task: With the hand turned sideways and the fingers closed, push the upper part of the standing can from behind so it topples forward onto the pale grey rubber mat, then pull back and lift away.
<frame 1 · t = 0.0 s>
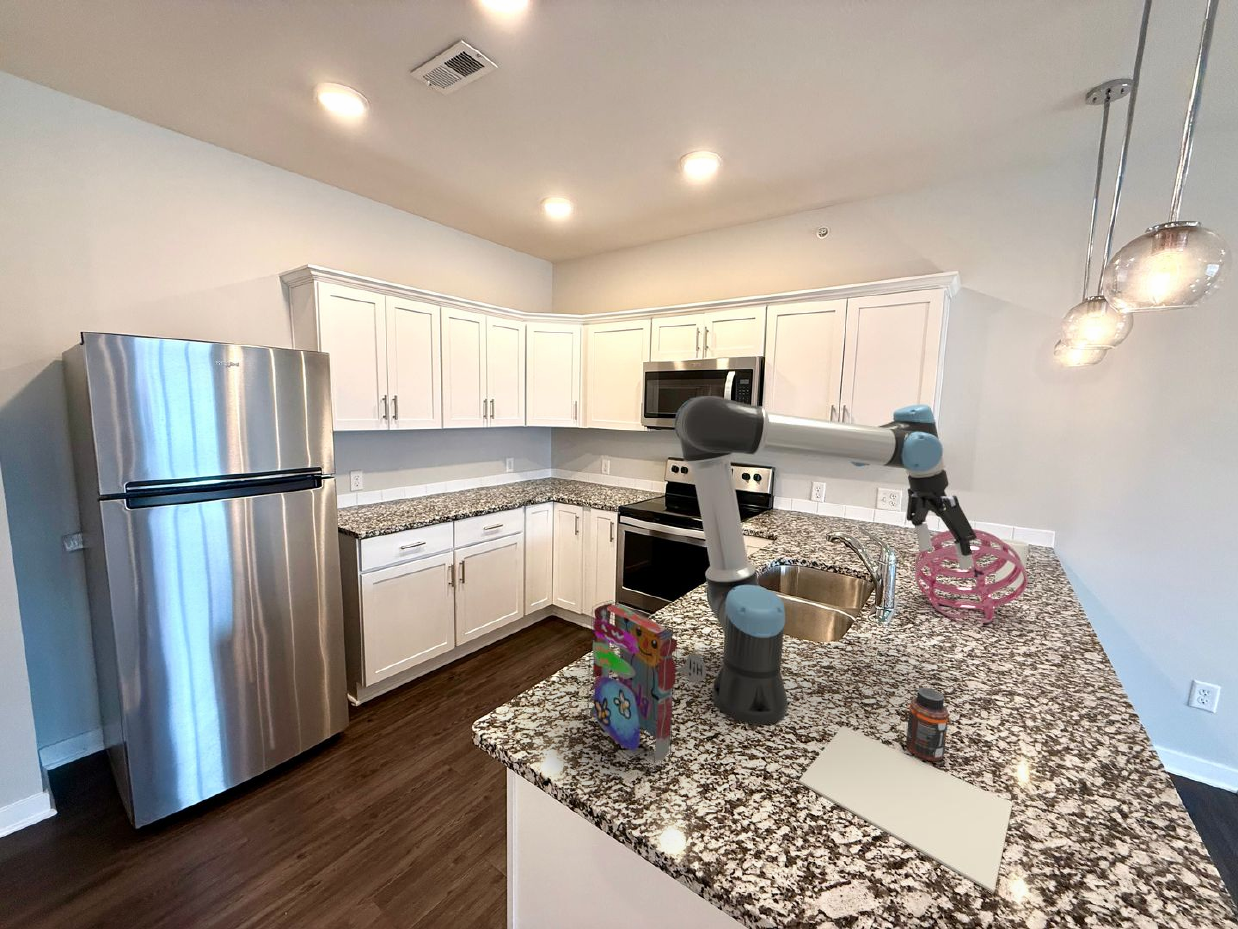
hand: (945, 558, 114), 28 cm above the countertop, tool tilted 20°, fingers open, 13 cm apart
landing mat: (903, 793, 79), on the countertop
spiral basket: (962, 613, 152), on the countertop
cup: (1008, 584, 179), on the countertop
supplement bottle: (924, 752, 89), on the countertop
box: (643, 757, 86), on the countertop
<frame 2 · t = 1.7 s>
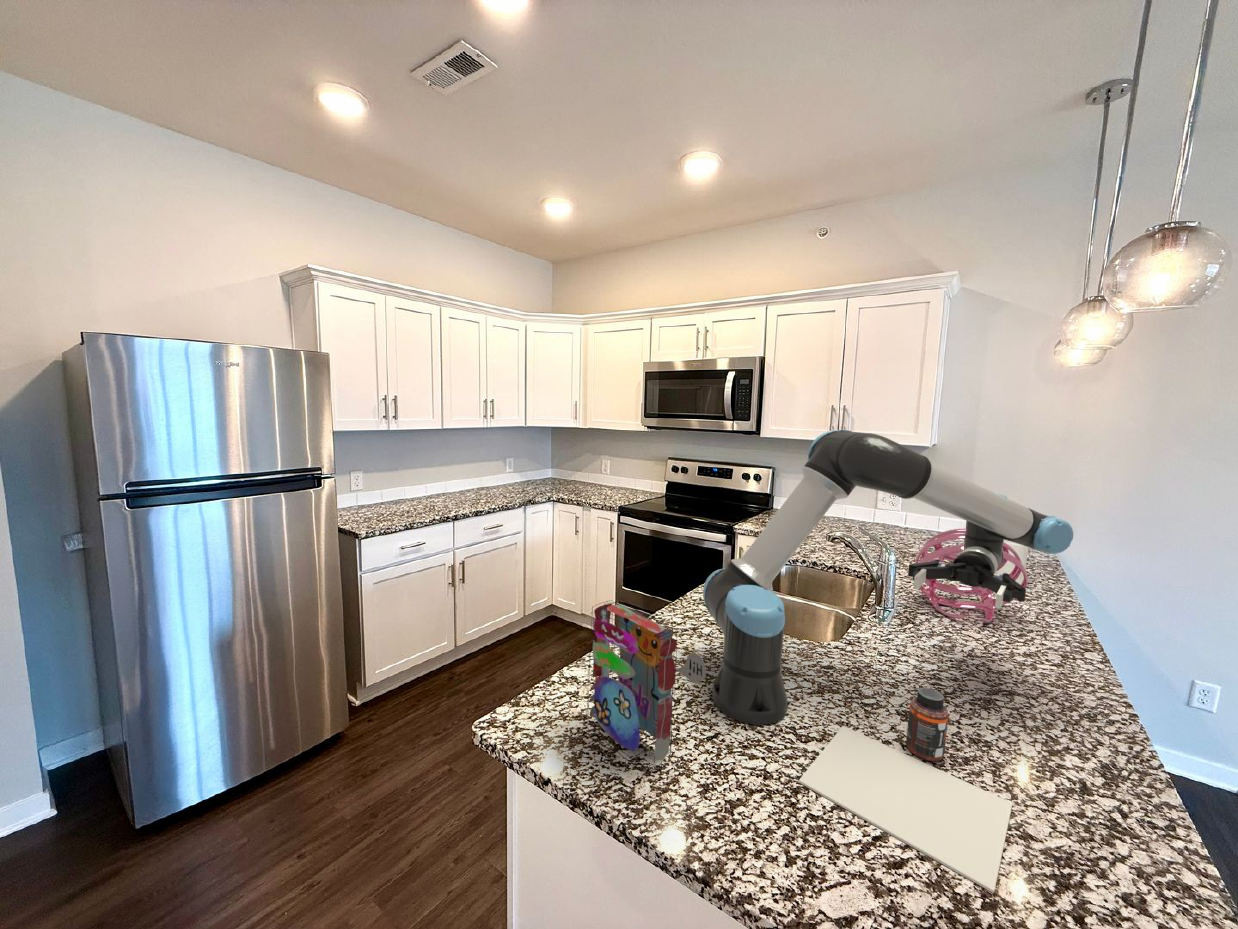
hand: (955, 591, 96), 26 cm above the countertop, tool horizontal, fingers open, 13 cm apart
nothing on the countertop moved.
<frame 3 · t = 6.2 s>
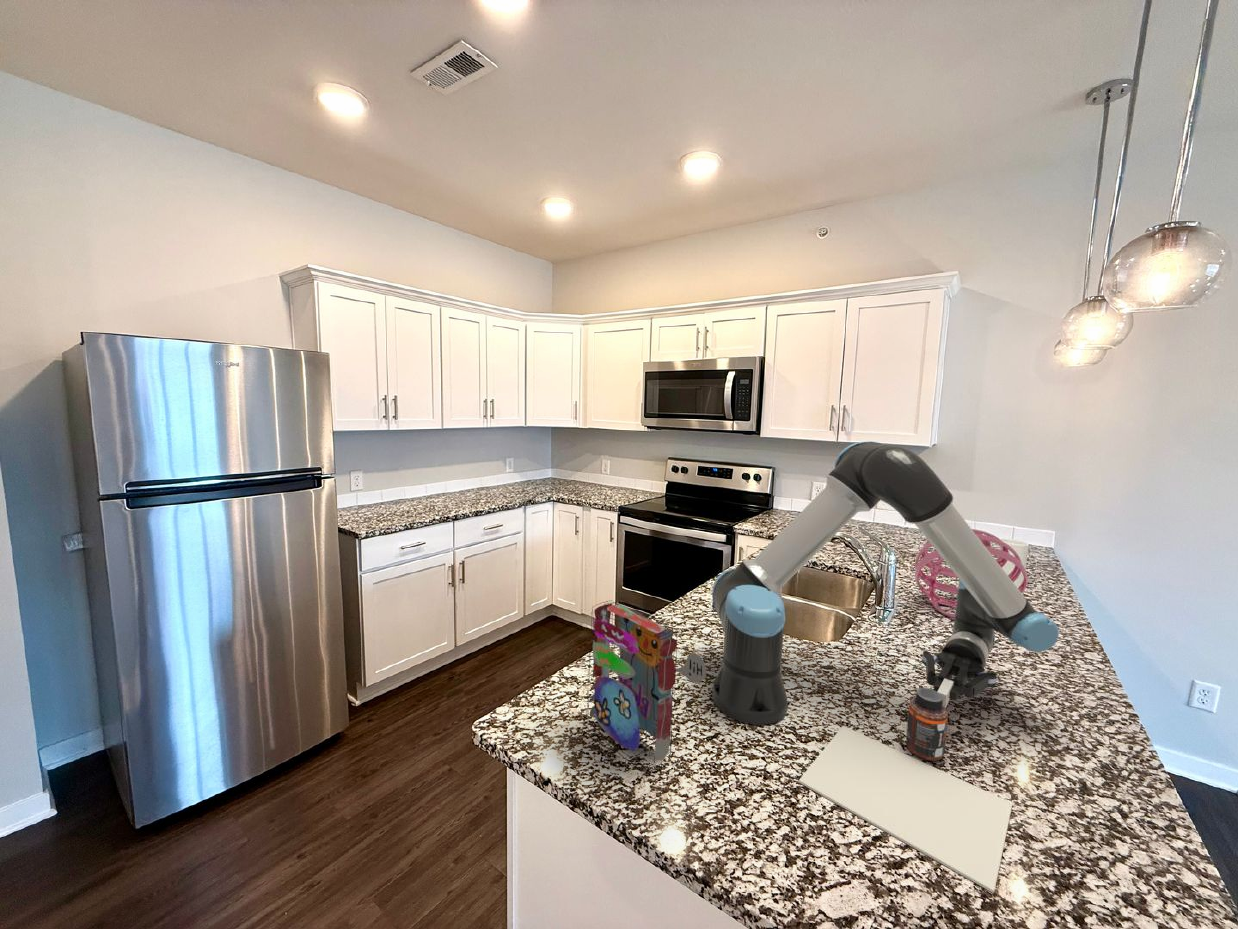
hand: (941, 700, 89), 9 cm above the countertop, tool horizontal, fingers closed
nothing on the countertop moved.
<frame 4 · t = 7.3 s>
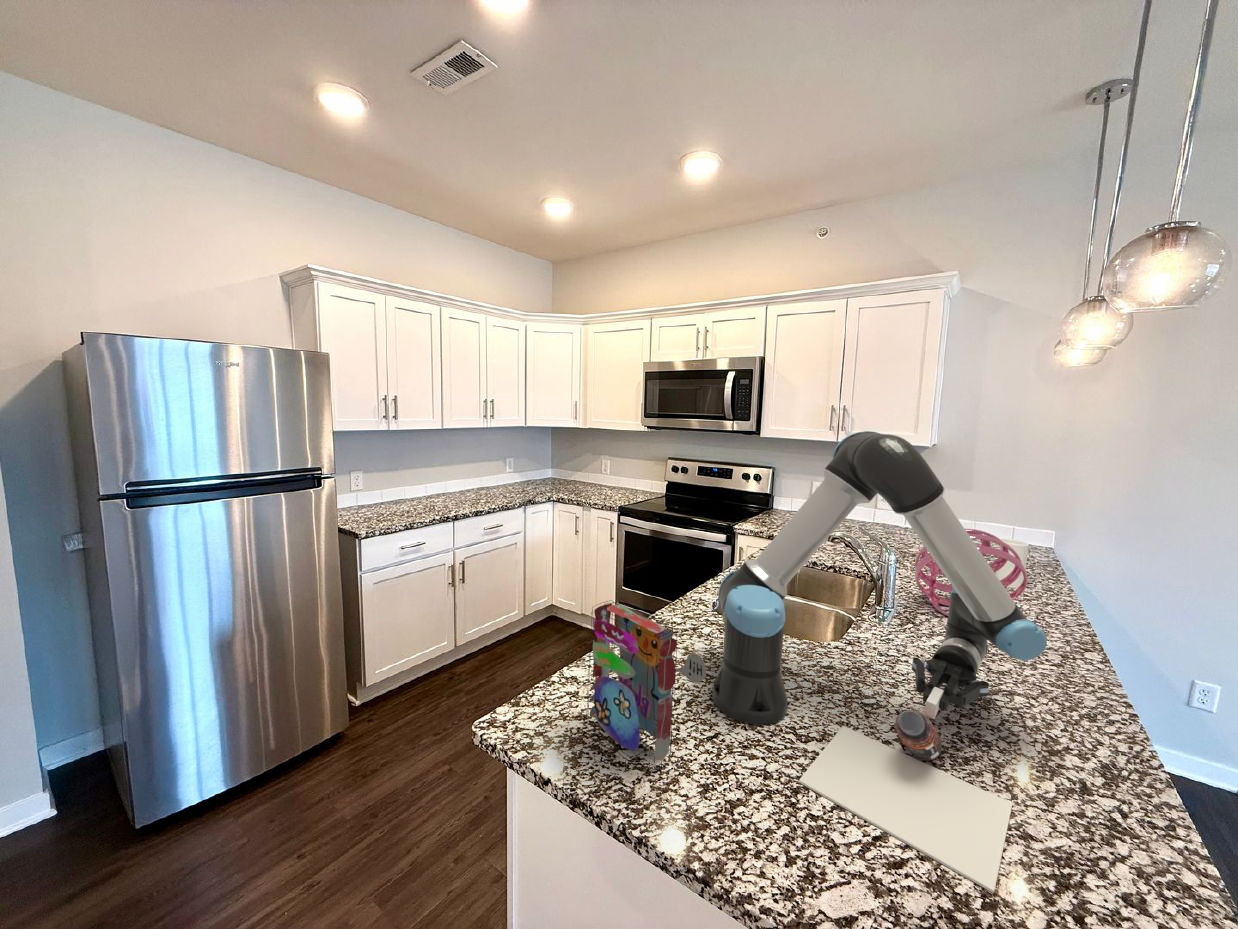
hand: (930, 710, 85), 10 cm above the countertop, tool horizontal, fingers closed
supplement bottle: (923, 743, 89), point 2 cm above the countertop, touching gripper
everything else where it was.
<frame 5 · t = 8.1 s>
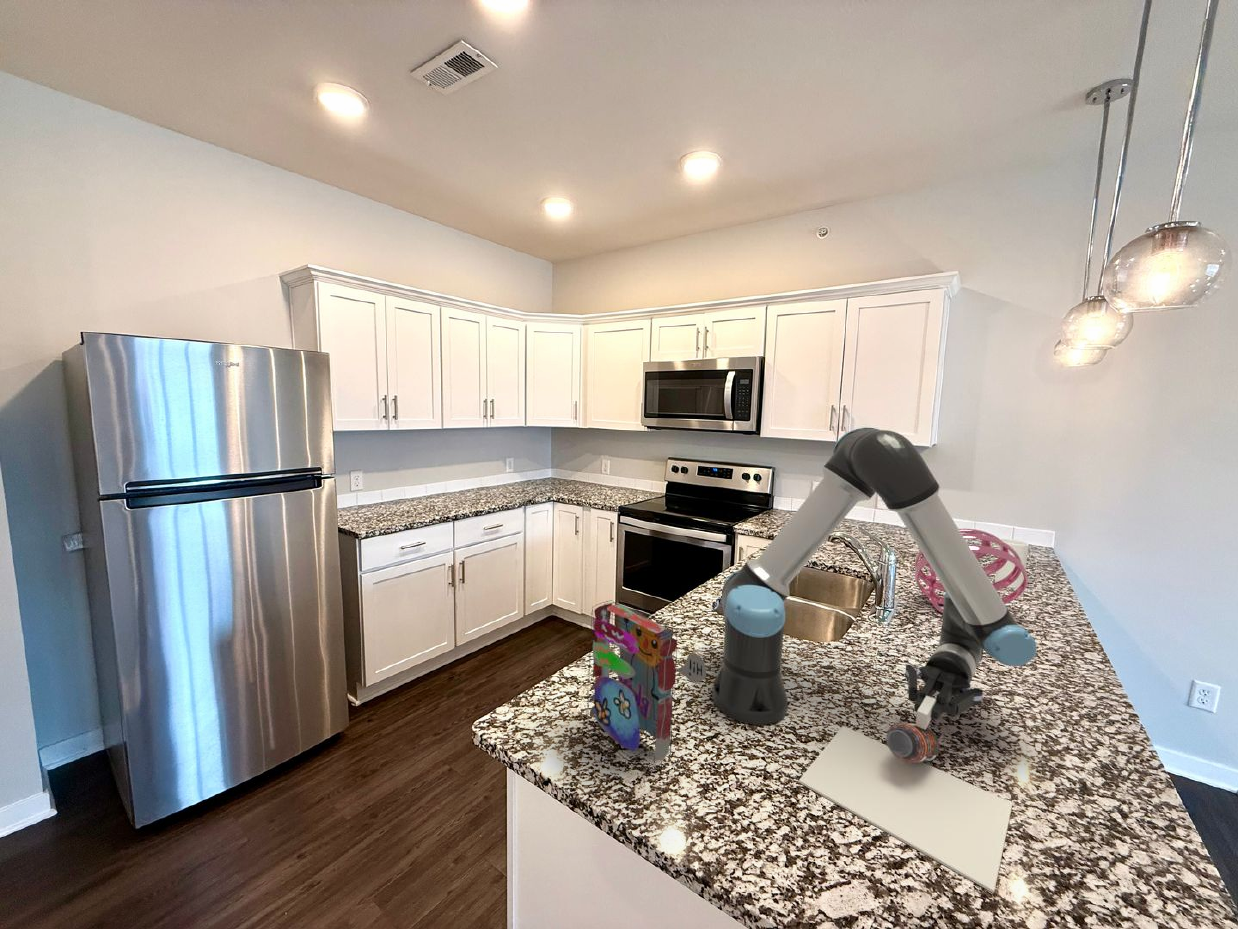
hand: (921, 720, 83), 10 cm above the countertop, tool horizontal, fingers closed
supplement bottle: (922, 741, 88), point 3 cm above the countertop, touching gripper, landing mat
everything else where it was.
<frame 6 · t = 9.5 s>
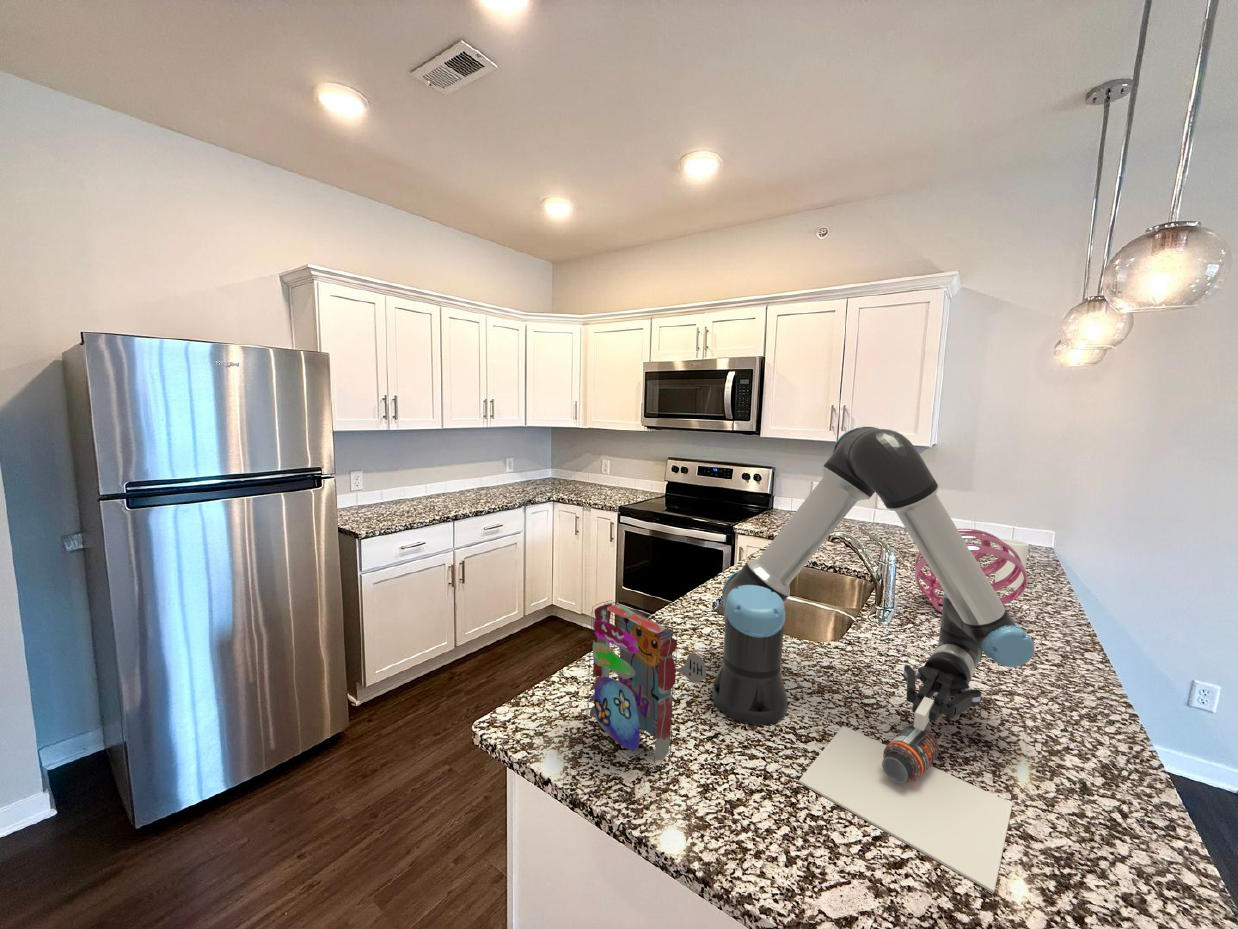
hand: (919, 721, 83), 10 cm above the countertop, tool horizontal, fingers closed
supplement bottle: (921, 741, 87), point 3 cm above the countertop, touching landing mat
everything else where it was.
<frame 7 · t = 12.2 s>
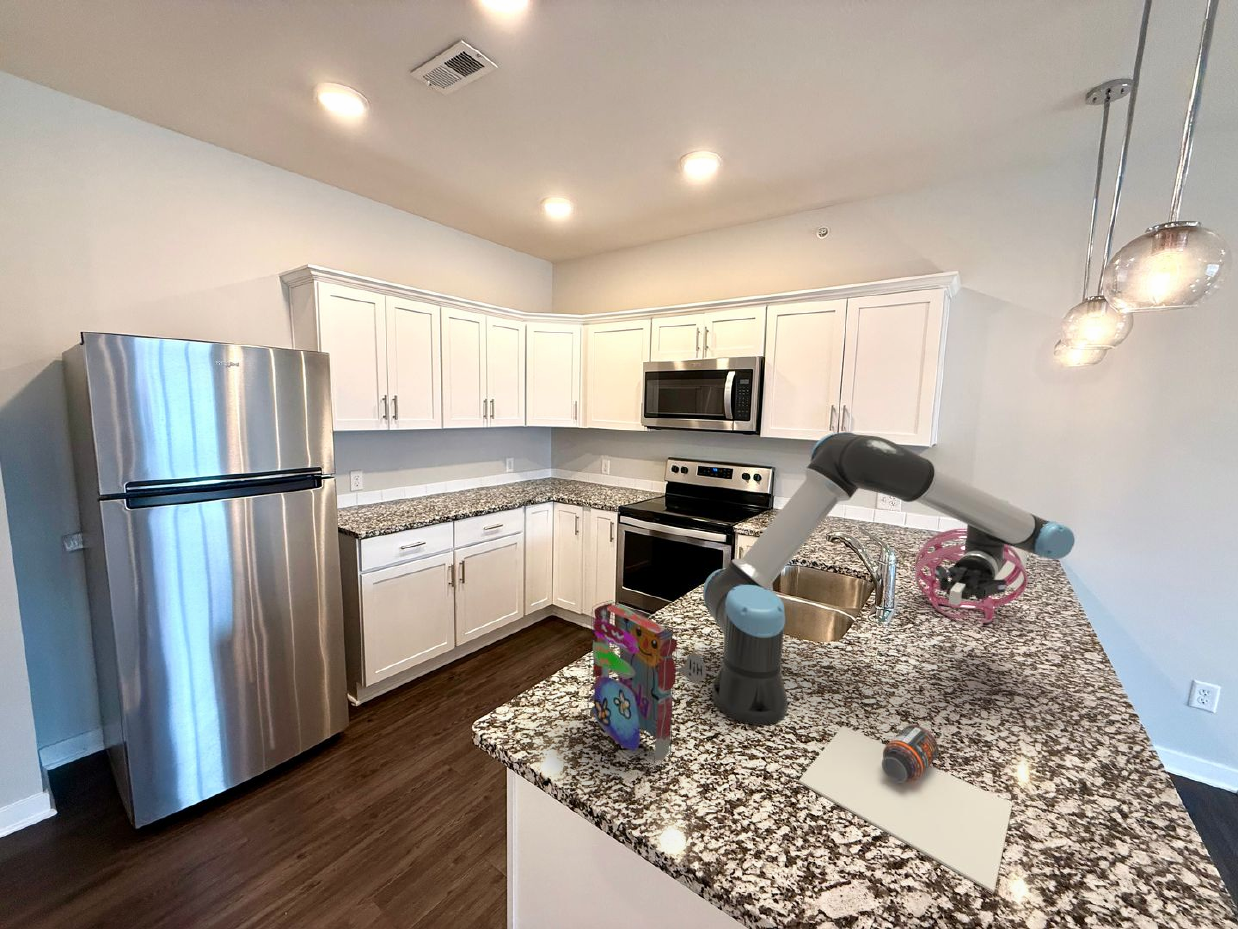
hand: (953, 598, 95), 26 cm above the countertop, tool horizontal, fingers closed
nothing on the countertop moved.
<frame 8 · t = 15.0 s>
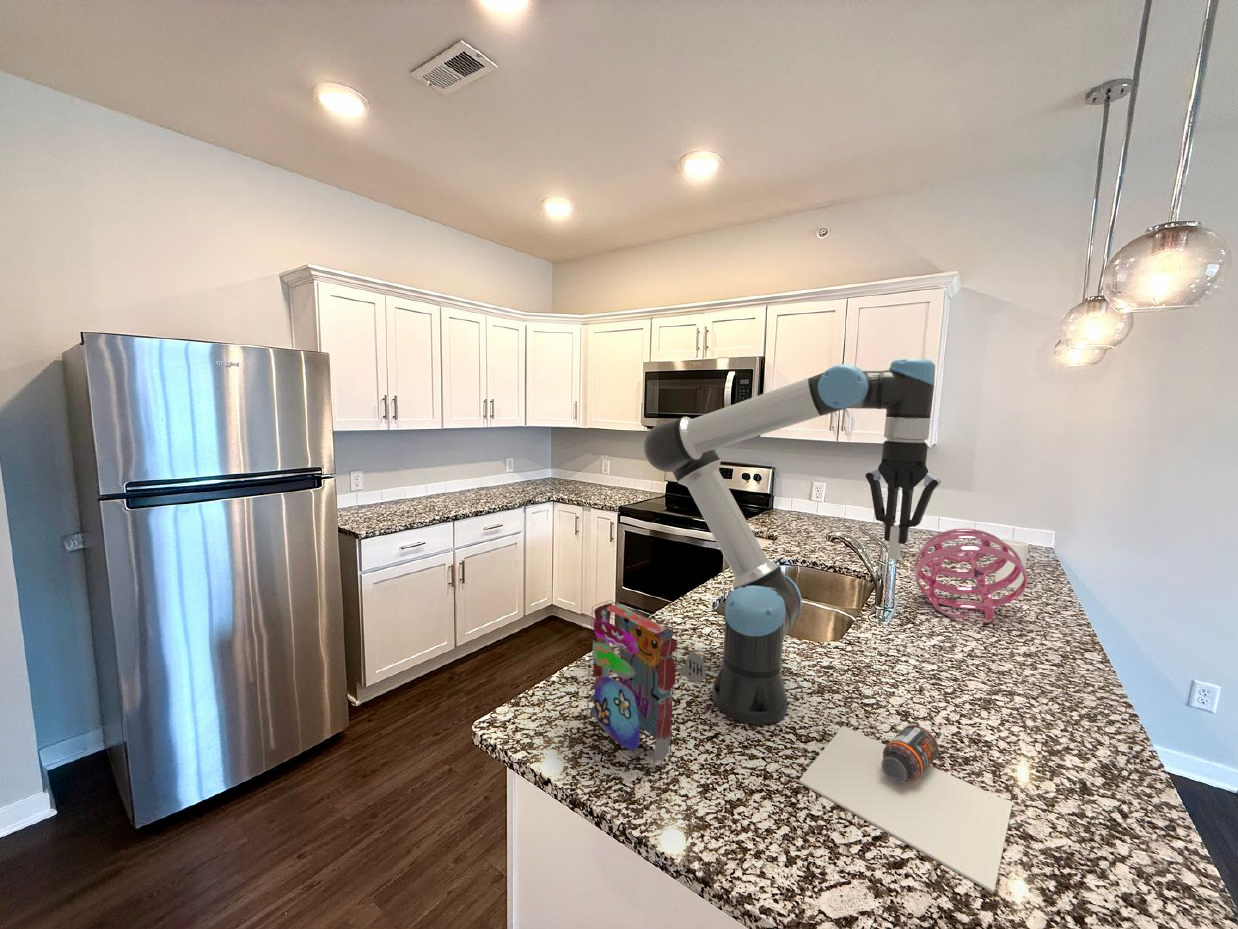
hand: (893, 557, 98), 32 cm above the countertop, tool pointing down, fingers closed
nothing on the countertop moved.
at the end: supplement bottle tilted 91°; supplement bottle inside the target area (8.8 cm from its centre), point 3.4 cm above the countertop; the gripper is holding nothing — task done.
